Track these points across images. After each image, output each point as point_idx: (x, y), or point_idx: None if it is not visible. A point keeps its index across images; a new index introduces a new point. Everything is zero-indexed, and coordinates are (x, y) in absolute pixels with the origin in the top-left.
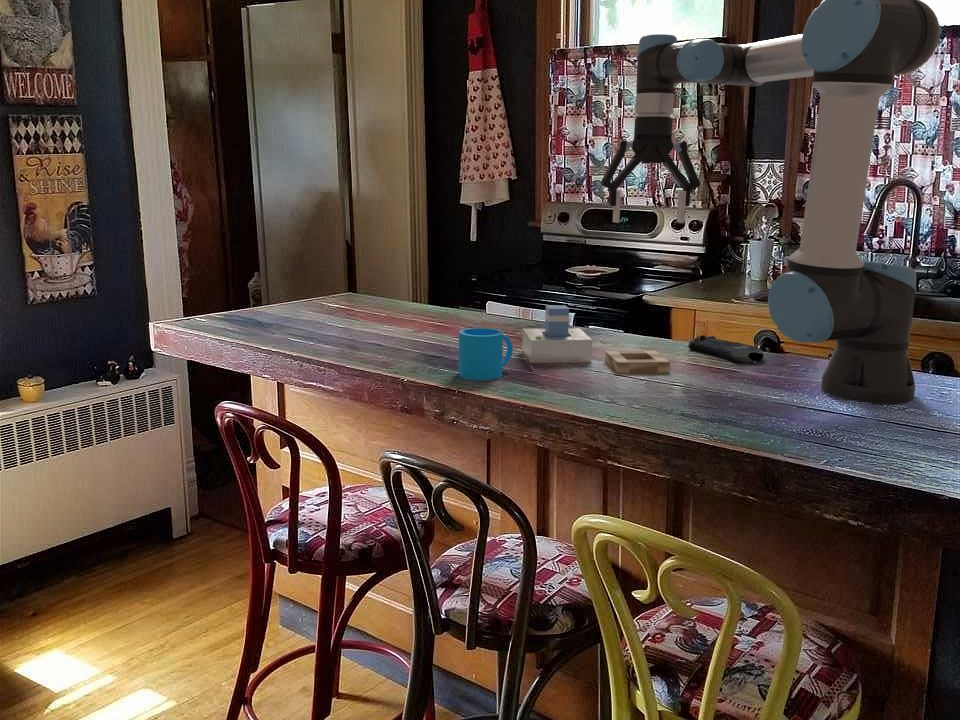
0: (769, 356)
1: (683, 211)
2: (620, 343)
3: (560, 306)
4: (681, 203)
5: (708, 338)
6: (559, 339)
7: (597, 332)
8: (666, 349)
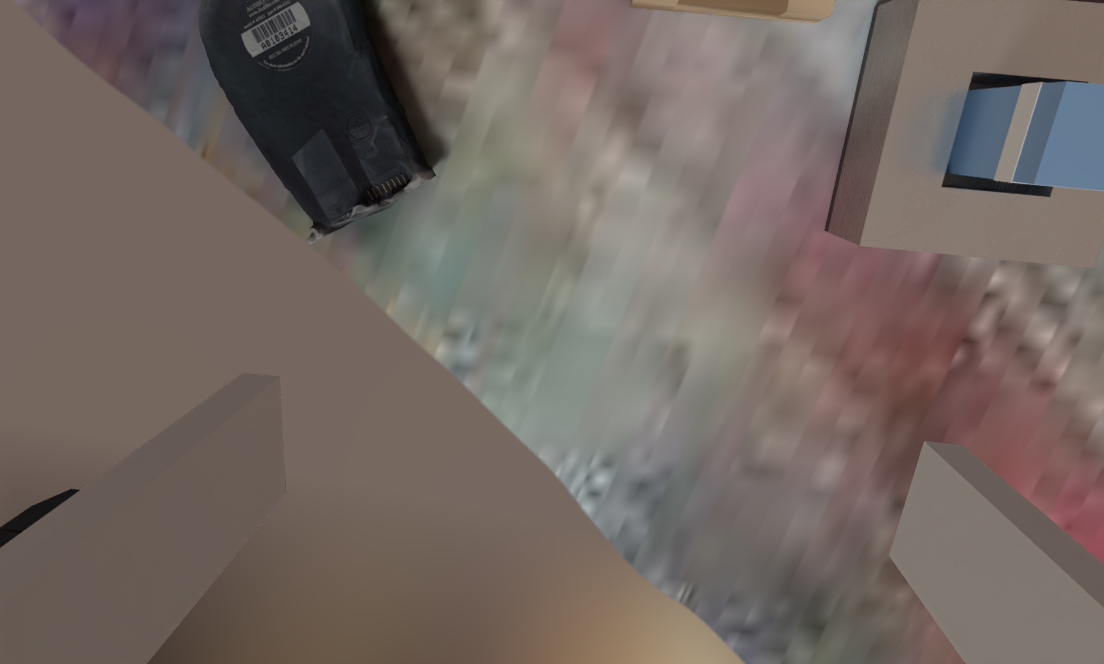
0: (174, 63)
1: (186, 428)
2: (624, 343)
3: (1074, 153)
4: (151, 496)
5: (341, 215)
6: (1058, 12)
7: (634, 514)
8: (501, 228)
